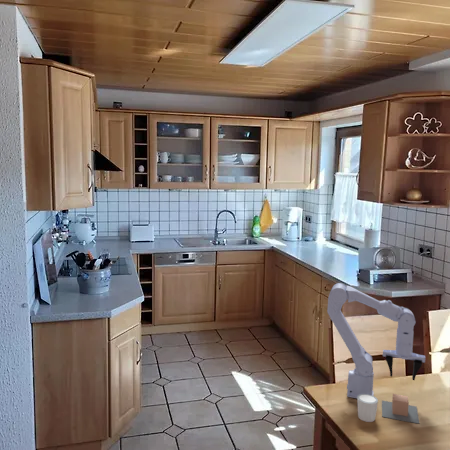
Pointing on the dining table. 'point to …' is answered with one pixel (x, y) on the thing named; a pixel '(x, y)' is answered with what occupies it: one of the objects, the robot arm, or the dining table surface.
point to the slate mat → (410, 418)
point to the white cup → (367, 407)
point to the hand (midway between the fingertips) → (402, 377)
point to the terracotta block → (400, 405)
